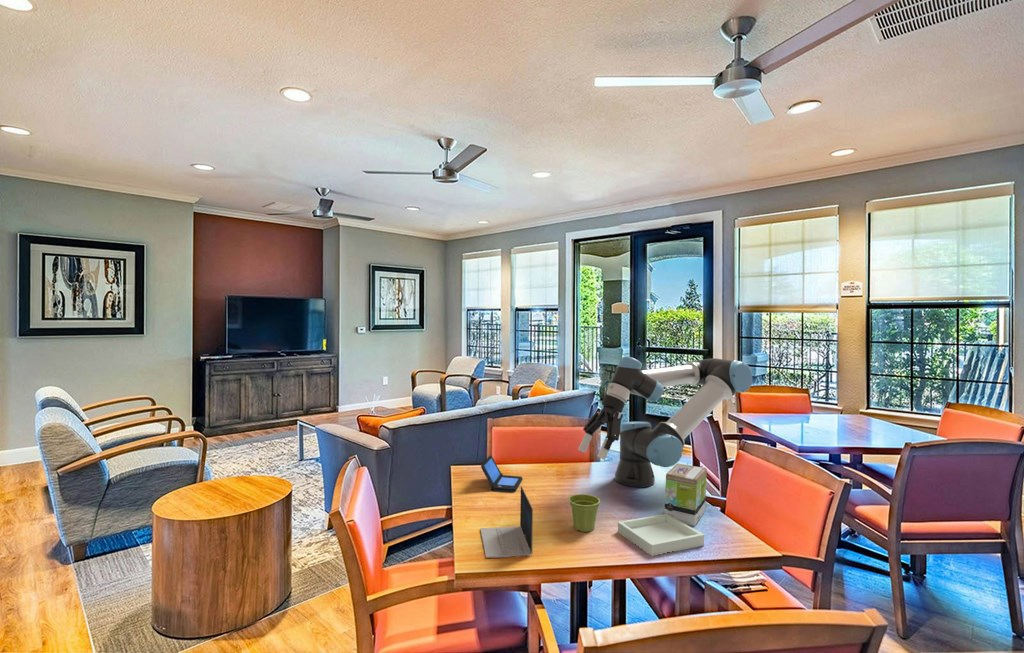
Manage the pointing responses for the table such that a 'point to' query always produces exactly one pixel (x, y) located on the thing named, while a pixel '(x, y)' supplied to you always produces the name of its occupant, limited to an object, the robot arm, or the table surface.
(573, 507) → the plant pot
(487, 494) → the table surface
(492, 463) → the handheld game console
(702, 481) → the tea box
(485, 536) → the laptop
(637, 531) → the sage tray
